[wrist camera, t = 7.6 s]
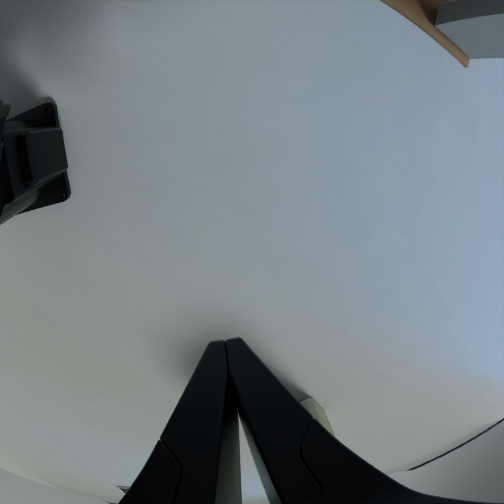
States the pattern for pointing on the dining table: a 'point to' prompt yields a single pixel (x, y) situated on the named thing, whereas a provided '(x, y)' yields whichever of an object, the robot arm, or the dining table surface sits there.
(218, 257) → the dining table surface
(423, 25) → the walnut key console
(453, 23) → the key
